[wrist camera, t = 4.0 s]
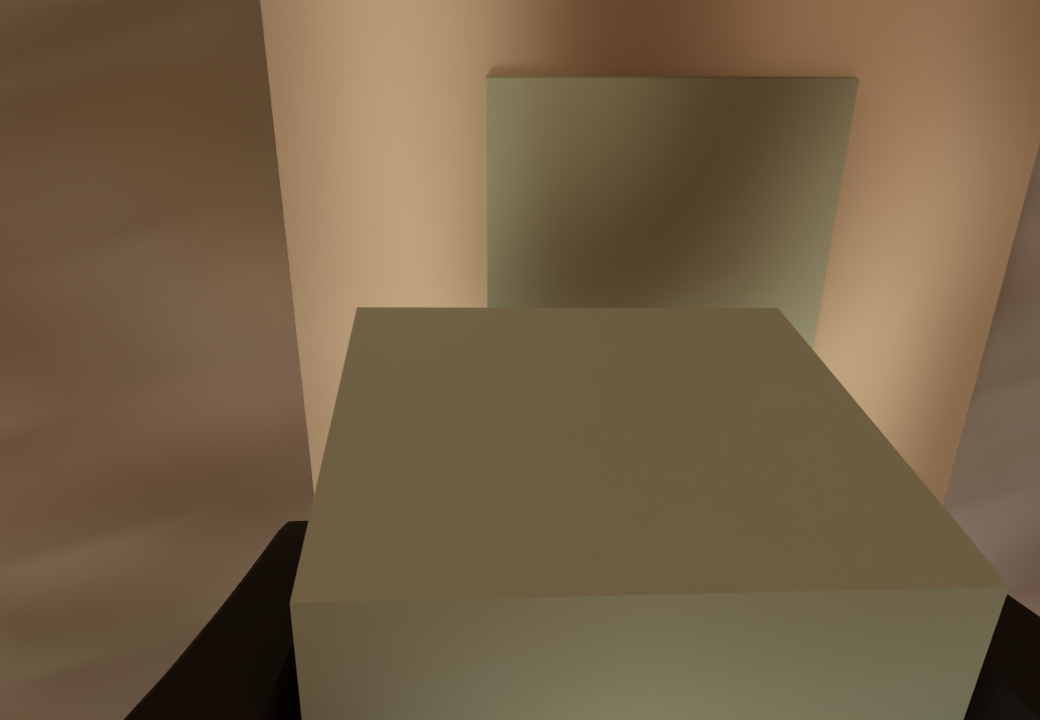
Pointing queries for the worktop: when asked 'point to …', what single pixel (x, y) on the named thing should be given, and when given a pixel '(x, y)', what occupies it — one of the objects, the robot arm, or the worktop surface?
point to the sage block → (623, 530)
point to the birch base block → (666, 174)
